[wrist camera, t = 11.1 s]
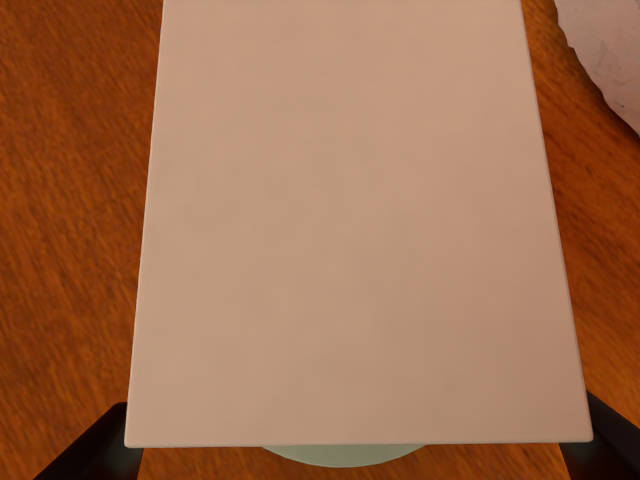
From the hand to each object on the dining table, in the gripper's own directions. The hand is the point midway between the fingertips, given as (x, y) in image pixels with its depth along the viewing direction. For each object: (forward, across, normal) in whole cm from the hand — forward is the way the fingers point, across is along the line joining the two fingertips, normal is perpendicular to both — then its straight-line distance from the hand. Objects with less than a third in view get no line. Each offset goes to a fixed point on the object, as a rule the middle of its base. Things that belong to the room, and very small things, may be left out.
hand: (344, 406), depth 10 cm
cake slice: (+8, 0, +3) cm, 8 cm away
